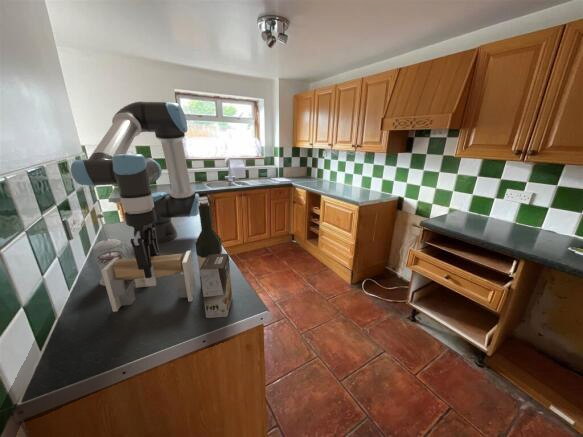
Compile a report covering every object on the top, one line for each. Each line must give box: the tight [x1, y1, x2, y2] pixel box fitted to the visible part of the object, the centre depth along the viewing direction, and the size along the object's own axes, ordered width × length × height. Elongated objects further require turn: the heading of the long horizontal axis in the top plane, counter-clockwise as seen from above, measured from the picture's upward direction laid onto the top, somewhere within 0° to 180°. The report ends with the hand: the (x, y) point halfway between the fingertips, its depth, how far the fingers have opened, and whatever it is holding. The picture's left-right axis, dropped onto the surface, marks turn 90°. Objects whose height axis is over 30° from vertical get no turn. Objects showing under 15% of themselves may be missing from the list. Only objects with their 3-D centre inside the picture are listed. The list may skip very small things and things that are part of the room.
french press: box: [92, 213, 131, 287], centre depth 86 cm, size 10×12×25 cm
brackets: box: [101, 250, 197, 313], centre depth 76 cm, size 8×22×14 cm, turn 103°
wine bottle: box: [194, 201, 224, 288], centre depth 81 cm, size 8×8×30 cm
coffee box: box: [200, 253, 233, 319], centre depth 71 cm, size 9×6×16 cm
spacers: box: [134, 278, 146, 289], centre depth 87 cm, size 6×18×4 cm, turn 103°
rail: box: [113, 253, 184, 280], centre depth 74 cm, size 4×18×5 cm, turn 103°
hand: (154, 280), depth 76 cm, fingers closed on rail, 4 cm apart
